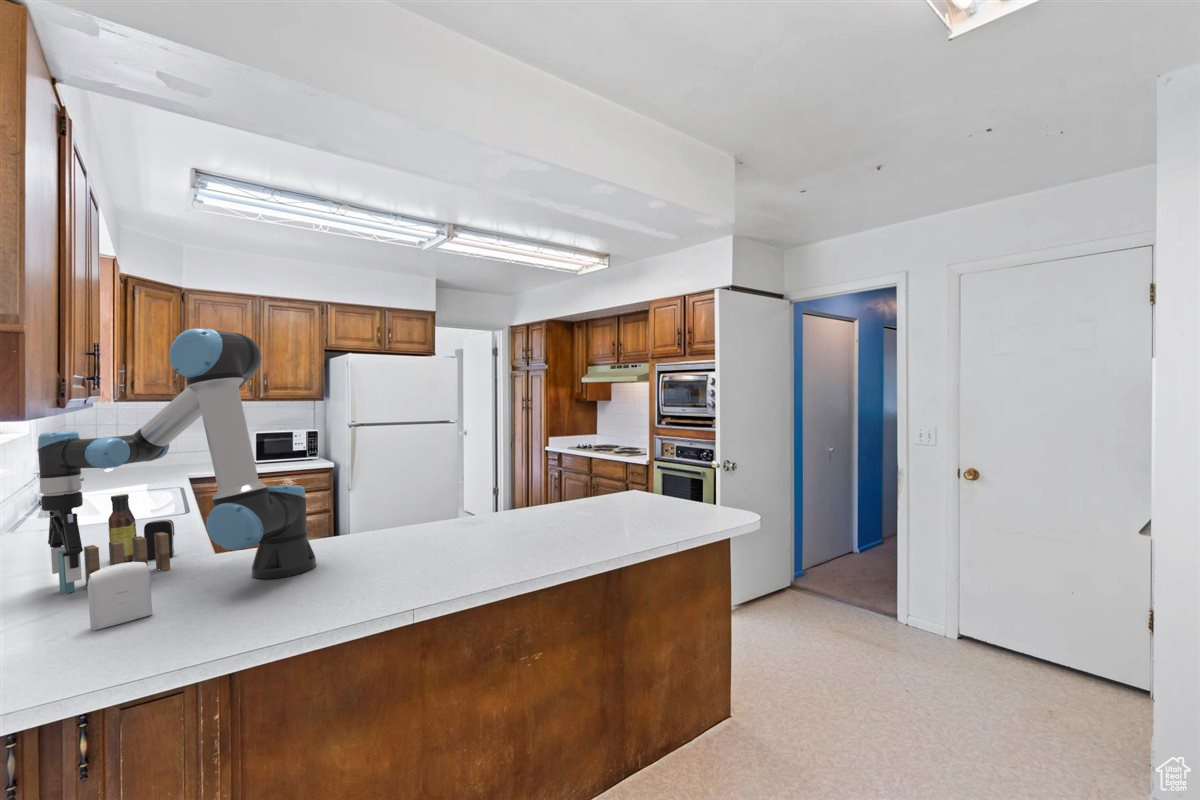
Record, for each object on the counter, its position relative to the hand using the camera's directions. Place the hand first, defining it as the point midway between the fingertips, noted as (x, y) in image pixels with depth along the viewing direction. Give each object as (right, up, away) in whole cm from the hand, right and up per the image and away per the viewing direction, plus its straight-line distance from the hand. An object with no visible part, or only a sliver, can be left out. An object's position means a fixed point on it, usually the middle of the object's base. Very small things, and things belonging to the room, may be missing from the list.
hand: (66, 576), depth 142 cm
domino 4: (+9, -3, +12) cm, 15 cm away
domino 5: (+12, -3, +16) cm, 20 cm away
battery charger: (+2, -3, +28) cm, 29 cm away
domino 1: (0, -4, 0) cm, 4 cm away
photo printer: (+32, -3, -22) cm, 39 cm away
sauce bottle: (-8, -4, +27) cm, 28 cm away
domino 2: (+3, -4, +4) cm, 6 cm away
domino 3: (+6, -3, +8) cm, 11 cm away
